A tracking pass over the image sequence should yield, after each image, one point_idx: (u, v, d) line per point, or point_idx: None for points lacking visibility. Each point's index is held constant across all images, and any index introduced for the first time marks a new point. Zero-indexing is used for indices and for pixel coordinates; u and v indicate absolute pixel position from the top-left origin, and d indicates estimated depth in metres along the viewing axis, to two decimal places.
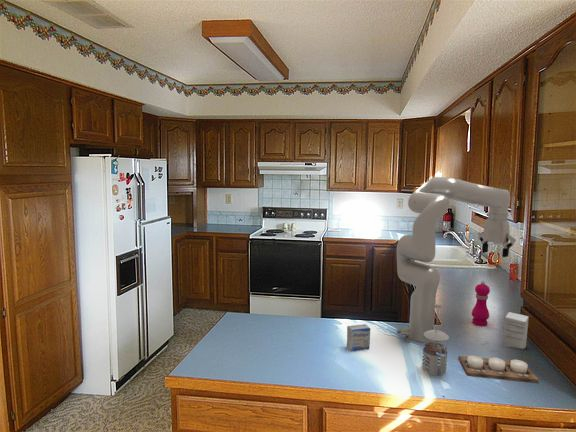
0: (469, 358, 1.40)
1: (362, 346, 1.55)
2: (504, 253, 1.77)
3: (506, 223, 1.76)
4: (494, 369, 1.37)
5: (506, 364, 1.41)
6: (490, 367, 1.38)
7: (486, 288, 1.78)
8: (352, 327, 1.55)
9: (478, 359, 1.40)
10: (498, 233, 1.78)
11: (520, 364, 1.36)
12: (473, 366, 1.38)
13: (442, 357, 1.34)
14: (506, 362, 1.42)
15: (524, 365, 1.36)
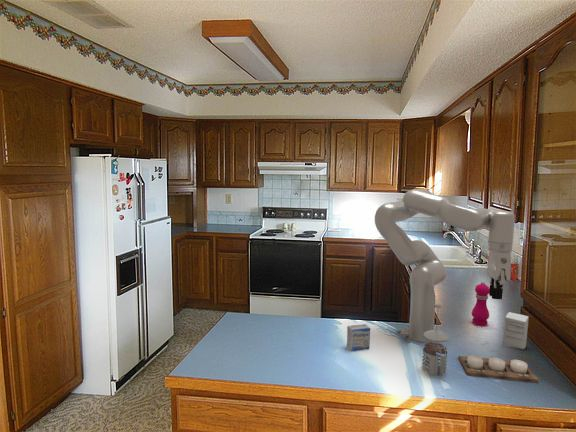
0: (469, 358, 1.40)
1: (362, 346, 1.55)
2: None
3: None
4: (494, 369, 1.37)
5: (506, 364, 1.41)
6: (490, 367, 1.38)
7: (486, 288, 1.78)
8: (352, 327, 1.55)
9: (478, 359, 1.40)
10: None
11: (520, 364, 1.36)
12: (473, 366, 1.38)
13: (442, 357, 1.34)
14: (506, 362, 1.42)
15: (524, 365, 1.36)
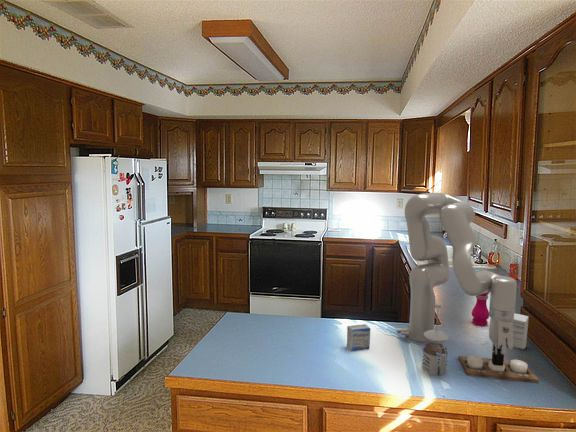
0: (469, 358, 1.40)
1: (362, 346, 1.55)
2: None
3: None
4: None
5: (506, 364, 1.41)
6: None
7: None
8: (352, 327, 1.55)
9: (478, 359, 1.40)
10: None
11: (520, 364, 1.36)
12: (473, 366, 1.38)
13: (442, 357, 1.34)
14: (506, 362, 1.42)
15: (524, 365, 1.36)
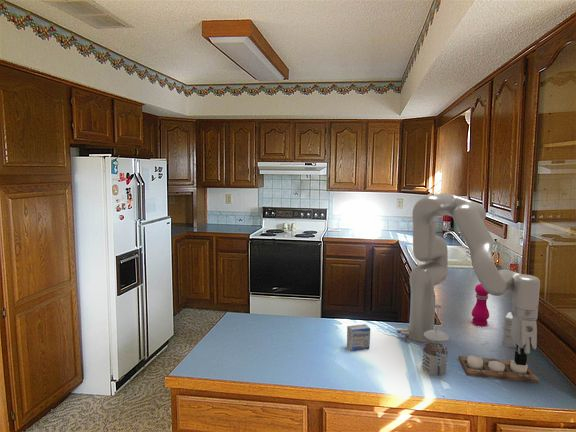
0: (469, 358, 1.40)
1: (362, 346, 1.55)
2: None
3: None
4: None
5: (506, 364, 1.41)
6: None
7: None
8: (352, 327, 1.55)
9: (478, 359, 1.40)
10: None
11: None
12: (473, 366, 1.38)
13: (442, 357, 1.34)
14: (506, 362, 1.42)
15: (524, 365, 1.36)
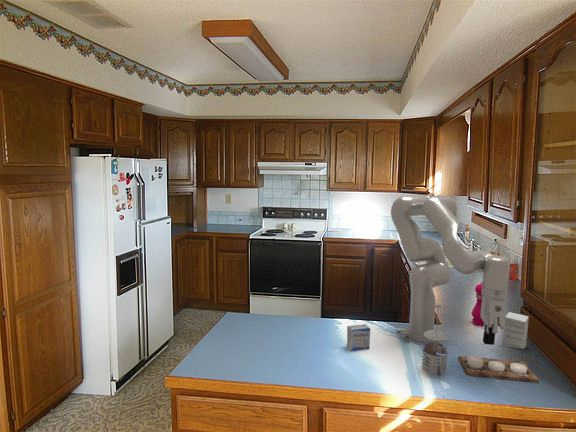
0: (469, 358, 1.40)
1: (362, 346, 1.55)
2: None
3: None
4: None
5: (506, 364, 1.41)
6: None
7: None
8: (352, 327, 1.55)
9: (478, 359, 1.40)
10: None
11: (520, 367, 1.37)
12: (473, 366, 1.38)
13: (442, 357, 1.34)
14: (506, 362, 1.42)
15: (524, 368, 1.36)
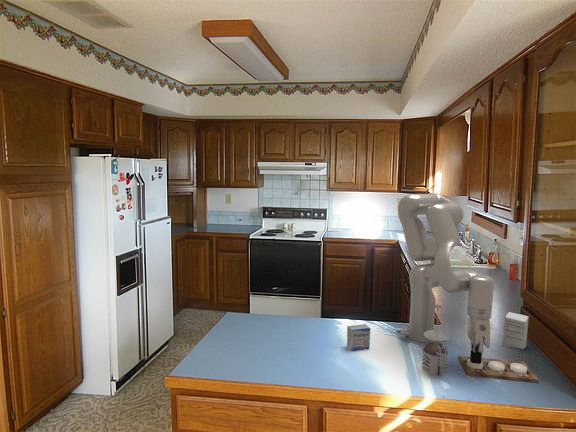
0: (469, 361, 1.40)
1: (362, 346, 1.55)
2: None
3: None
4: None
5: (506, 364, 1.41)
6: None
7: None
8: (352, 327, 1.55)
9: None
10: None
11: (520, 367, 1.37)
12: None
13: (442, 357, 1.34)
14: (506, 362, 1.42)
15: (524, 368, 1.36)
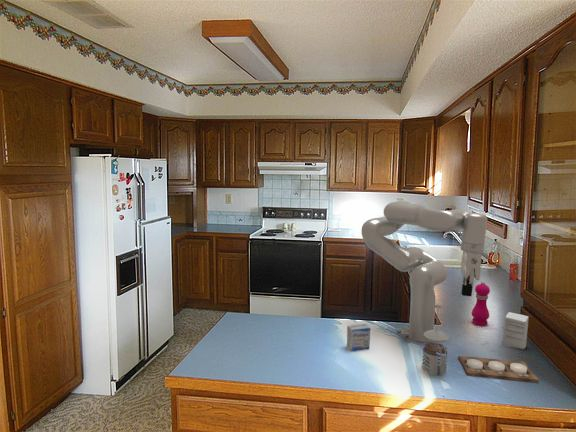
0: (469, 361, 1.40)
1: (362, 346, 1.55)
2: None
3: None
4: None
5: (506, 364, 1.41)
6: None
7: (486, 288, 1.78)
8: (352, 327, 1.55)
9: (478, 362, 1.40)
10: None
11: (520, 367, 1.37)
12: None
13: (442, 357, 1.34)
14: (506, 362, 1.42)
15: (524, 368, 1.36)
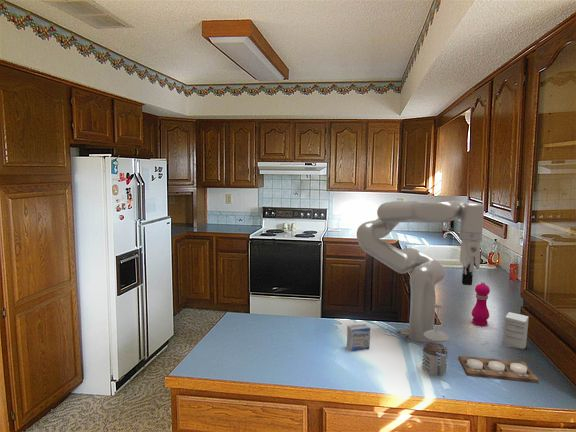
0: (469, 361, 1.40)
1: (362, 346, 1.55)
2: None
3: None
4: None
5: (506, 364, 1.41)
6: None
7: (486, 288, 1.78)
8: (352, 327, 1.55)
9: (478, 362, 1.40)
10: None
11: (520, 367, 1.37)
12: None
13: (442, 357, 1.34)
14: (506, 362, 1.42)
15: (524, 368, 1.36)
